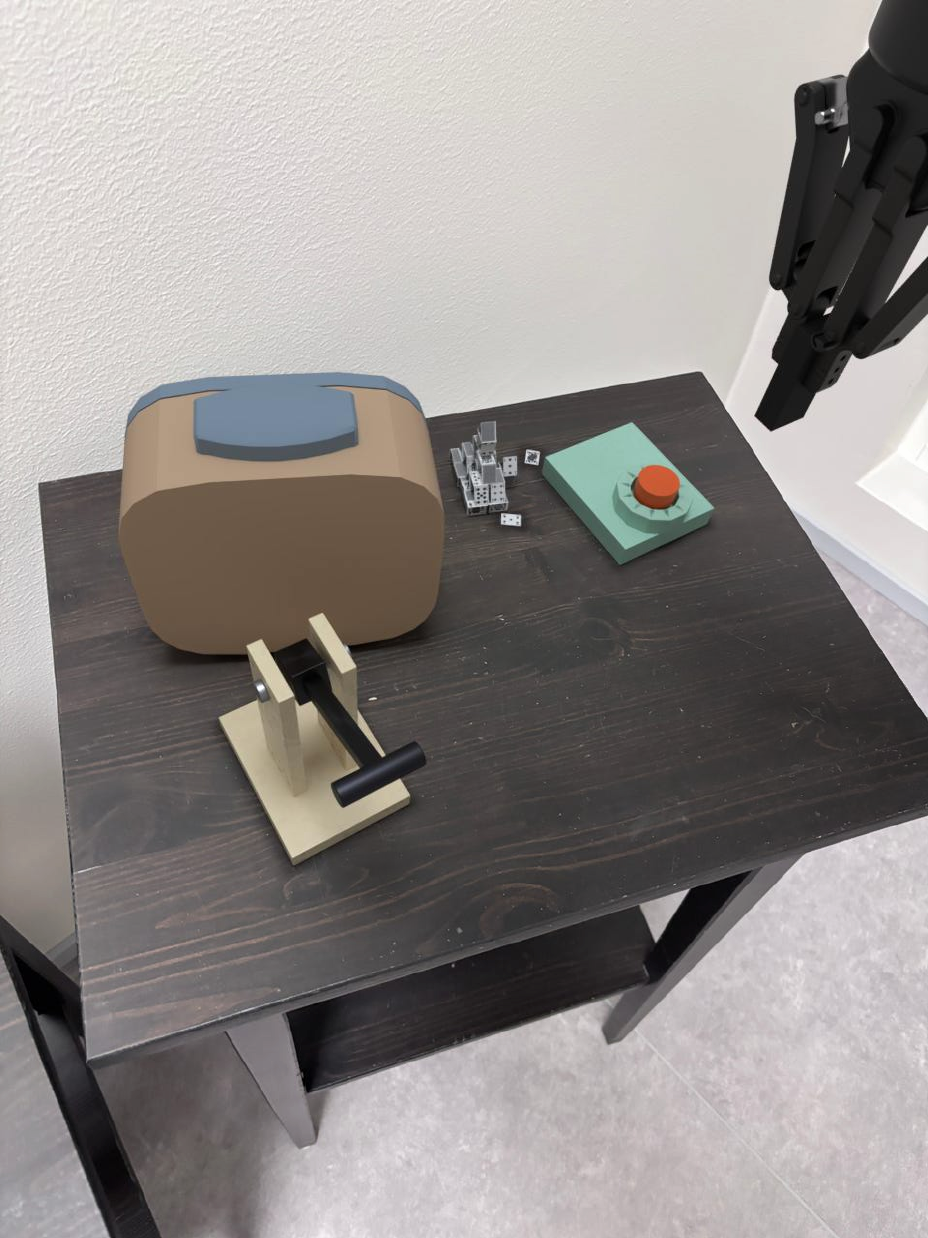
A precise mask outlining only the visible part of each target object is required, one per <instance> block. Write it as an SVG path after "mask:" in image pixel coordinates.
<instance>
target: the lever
mask: <svg viewBox="0 0 928 1238" xmlns="http://www.w3.org/2000/svg"><path fill="white" fill-rule="evenodd" d="M273 655H274V659H275V663H276V665H277V666H278V668H279V670H280V672H281V673H282V675H283V677H284V678H285V680H286V682H287V684H288V685H289V687H290V689H291V691H292V692H293V694H294V697H295V700H296V702H297V703H298V704H299V706H302V705H304V704H306V703H308V702H312V703H313V705H314V706H315V707H316V709H317V710H318V711H319V713H320V714H321V716H322V717H323V718H324V720H325V721H326V722H327V724H328V725H329V727H330V728H331V729H332V731H333V732H334V733H335V735H336V736H337V738H338V739H339V740H340V742H341V743H342V744H343V746H344V747H345V749H346V750H347V751H348V753H349V754H350V756H351V757H352V758H353V760H354V761H355V762H356V764H357V765H358V767H359V769H358V770H356V771H354V772H352V773H350V774H348V775H346V776H344V777H342V778H340V779H338V780H336V781H334V782H332V783H331V789H332V792H333V794H334V796H335V798H336V800H337V802H338V803H339V805H340V806H341V807H342V808H344V807H346V806H348V805H350V804H352V803H354V802H356V801H358V800H360V799H362V798H364V797H366V796H367V795H369V794H371V793H373V792H375V791H377V790H379V789H381V788H383V787H385V786H387V785H389V784H391V783H392V782H394V781H396V780H398V779H402V778H404V777H406V776H408V775H410V774H412V773H414V772H415V771H417V770H419V769H420V768H421V769H422V768H423V767H425V766H426V765H427V756H426V755H425V753H424V750H423V749H422V747H421V745H420V744H419V743H418V742H417V741H416V740H413V741H411V742H409V743H407V744H405V745H402V746H401V747H399V748H397V749H395V750H393V751H391V752H389V753H387V754H385V756H383V757H382V756H381V755H380V754H379V752H378V751H377V750H376V748H375V747H374V746H373V744H372V743H371V742H370V741H369V739H368V738H367V737H366V735H365V734H364V733H363V731H362V730H361V729H360V727H359V726H358V725H357V724H356V722H355V721H354V720H353V718H352V717H351V716H350V714H349V713H348V712H347V710H346V709H345V708H344V707H343V705H342V704H341V703H340V701H339V700H338V699H337V697H336V696H335V695H334V693H333V692H332V691H333V690H332V686H331V682H330V678H329V674H328V671H327V667H326V663H325V661H324V660H323V658H322V657H321V656H320V655H319V653H318V652H317V651H316V650H315V648H314V647H313V646H312V645H311V643H310V642H309V641H308V639H307V638H305V639H303V640H301V641H298V642H296V643H294V644H292V645H289V646H287V647H285V648H283V649H280V650H278V651H276V652H273Z"/></svg>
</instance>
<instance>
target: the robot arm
mask: <svg viewBox="0 0 928 1238" xmlns="http://www.w3.org/2000/svg"><path fill="white" fill-rule="evenodd" d="M867 43H868V48H867V49H866V51H865V52H864V54H863V55H862V56H860V57H859V58H858V59H857V60H856V61H855V63H854V64H853V65H852V66H851V69H850V70H849V73H848V74H847V75H844V74H835V75H832V76H828V77H824V78H820V79H816V80H811V81H809V82H804V83H801V84H800V85H798V86H797V88H796V90H795V92H794V95H793V106H794V125H795V141H794V145H793V146H794V147H793V151H792V152H793V153H792V157H791V162H790V167H789V172H788V177H787V181H786V182H787V183H786V187H785V191H784V196H783V197H784V198H783V203H782V207H781V213H780V217H779V223H778V227H777V233H776V238H775V243H774V247H773V248H774V249H773V254H772V259H771V263H770V269H769V274H768V283H769V285H770V287H771V288H772V289H773V290H774V291H777V292H779V291H781V292H782V294H783V295H784V296H785V299H786V300H787V303H786V310H787V315H786V317H785V319H784V322H783V325H782V326H781V328H780V331H779V333H778V335H777V337H776V341H775V342H774V344H773V346H772V348H771V357H770V358H771V360H773V361H774V362H775V363H776V364H777V365H776V367H775V370H774V372H773V375H772V376H771V379H770V381H769V383H768V385H767V387H766V390H765V391H764V394H763V396H762V398H761V400H760V402H759V404H758V407H757V409H756V411H755V413H754V415H753V417H754V418H756V419H757V421H758V422H760V423H761V425H763V426H764V427H765V428H766V429H767V430H768V431H769V432H770V433H772V432H774V431H776V430H778V429H780V428H784V427H786V426H787V425H790V424H792V423H795V422H797V421H799V420H802V419H804V418H805V416H806V413H807V412H808V411H809V408H810V406H811V405H812V403H813V400H814V398H815V397H816V395H817V394H818V393H820V392H823V391H826V390H827V389H830V388H832V387H834V385H836V384H837V383H838V381H839V380H840V378H841V376H842V375H843V372H844V370H845V368H846V367H847V365H848V363H849V361H850V359H851V357H852V356H853V357H854V358H856V359H858V360H864V359H865V360H866V359H867V358H870V357H872V356H874V355H876V354H879V353H881V352H883V351H886V350H888V349H891V348H894V347H895V346H898V345H899V344H901V342H902V341H903V340H904V339H905V338H906V337H907V336H908V335H909V334H910V333H911V332H912V331H913V330H914V329H915V328H916V327H917V326H918V325H920V323H921V322H922V321H923V320H924V319H925V318H926V316H928V255H927V257H926V258H924V260H923V261H921V263H920V264H919V265H918V266H917V267H916V268H915V270H914V271H913V272H912V273H911V274H910V275H909V276H908V277H907V278H906V279H905V281H903V282H902V284H901V285H900V286H899V287H898V288H897V289H896V290H895V292H894V293H893V294H892V295H891V293H892V291H893V290H894V287H895V286H896V284H897V282H898V281H899V278H900V277H901V275H902V273H903V271H904V270H905V268H906V266H907V264H908V262H909V261H910V259H911V257H912V255H913V253H914V251H915V249H916V248H917V246H918V244H919V242H920V240H921V238H922V237H923V234H924V233H925V231H926V229H927V227H928V0H881V1H880V4H879V7H878V10H877V11H876V14H875V16H874V19H873V21H872V24H871V26H870V29H869V31H868V38H867ZM848 146H849V151H848V153H847V155H846V152H847V147H848ZM845 156H846V157H845ZM890 295H891V296H890ZM831 308H832V309H831ZM827 309H831V311H830V312H828V313H826V311H827Z"/></svg>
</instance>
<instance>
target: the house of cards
mask: <svg viewBox="0 0 928 1238" xmlns="http://www.w3.org/2000/svg"><path fill="white" fill-rule="evenodd" d="M476 430H477V434H475V435H472V436H471V438H470V440H469V441H467V442H461V444H460V445H459V447H457V448H450V450H449V452H448V461H451V462H452V465H453V469H454V473H455V475H456V480H457V482H456V487H457V488H460V491H461V494H462V498H463V502H464V507H465V510H466V512H465V516H466V517H467V516H468V517H469V516H476V515H477V516H478V515H487V514H488V516H489V514H490V513H497V512H498V513H499V512H503V513H501V514H500V525H505V526H514V527H521V526H522V514H515V513H514V514H512V513H504V512H507V511H508V508H509V503H510V500H508V497H507V495H506V488H513V487H514V485H515V481H516V476H518V455H512V456H503V457H502V458H501V459H500V460H499V461H498V462H497V451H496V445H497V442H498V441H497V422H496V420H493V421H482V422H480V424H479V425H478V426H477V428H476ZM540 454H541V452H540V451H538V450H533V449H526V451H525V458H524V464H527V465H528V464H529V465H533V466H539V462H540Z"/></svg>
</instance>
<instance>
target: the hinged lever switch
mask: <svg viewBox="0 0 928 1238" xmlns="http://www.w3.org/2000/svg"><path fill="white" fill-rule="evenodd" d="M308 621H309V632H310V642H311V645H312V646H313V647H314V648H315V650H316V651H317V652H318V653H319V655H320V656H321V657H322V658H323V660H324V661H325V663H326V667H327V671H328V674H329V678H330V682H331V686H332V690H333V691H332V692H333V693H334V695H335V696H336V697H337V699H338V700H339V701H340V703H341V704H342V705H343V707H344V708H345V709H346V710H347V712H348V713H349V714H350V716H351V717H352V718H353V720H354V721H355V722H356V724H357V725H358V726H359V727H360V729H361V730H362V731H363V733H364V734H365V735H366V737H367V738H368V739H369V741H370V742H371V743H372V744H373V746H374V747H375V748H376V750H377V751H378V752H379V754H380V755H381V756H382V757H383V756H385V755H386V753H385V751H384V750H383V748H382V747H381V745H380V744H379V742H378V740H377V739H376V737H375V735H374V734H373V732H372V730H371V729H370V727H369V725H368V724H367V722H366V721H365V718H364V717H363V716H362V714H361V712H360V711H359V708H358V669H357V667H358V666H357V665H356V663H355V662H354V660H353V659H354V658H353V655H352V652H351V650H350V648H349V645H346V643H345V642H341V641H340V639H339V638H338V636H337V635H336V633H335V631H334V630H333V628H332V627H331V625H330V623H329V622H328V620H327V619H326V617H325V615H324V614H323V613H321V614H319V615H316V616H314V617H312V618H309V619H308ZM246 647H247V652H248V654H247V658H248V661H249V666H250V671H251V676H252V680H253V681H252V683H251V685H252V688H253V690H254V693H255V695H256V700H254V701H252V702H249V703H247V704H245V705H243V706H240V707H238V708H236V709H234V710H231V711H230V712H228V713H225V714H223V715H221V716H219V717H218V721H219V724H220V727H221V730H222V731H223V733H224V735H225V737H226V739H227V741H228V743H229V745H230V747H231V749H232V750H233V753H234V754H235V756H236V758H237V760H238V762H239V764H240V766H241V768H242V770H243V772H244V774H245V776H246V778H247V780H248V782H249V784H250V785H251V787H252V789H253V791H254V794H255V795H256V798H257V799H258V801H259V802H260V804H261V806H262V808H263V811H264V812H265V814H266V816H267V818H268V820H269V822H270V824H271V826H272V828H273V829H274V831H275V834H276V835H277V837H278V839H279V841H280V843H281V845H282V847H283V849H284V851H285V852H286V854H287V857H288V858H289V860H290V862H291V864H292V866H293V867H294V866H296V865H298V864H300V863H302V862H303V861H305V860H307V859H309V858H312V857H313V856H315V855H316V854H318V853H320V852H322V851H324V850H326V849H328V848H330V847H331V846H334V845H335V844H337V843H339V842H341V841H343V840H344V839H347V838H348V837H350V836H352V835H354V834H356V833H358V832H359V831H361V830H364V829H365V828H367V827H369V826H371V825H373V824H375V823H376V822H378V821H380V820H382V819H384V818H386V817H388V816H389V815H391V814H393V813H395V812H397V811H399V810H401V809H402V808H404V807H406V806H408V805H409V804H410V801H411V794H410V793H409V791H408V789H407V788H406V786H405V784H404V783H403V781H402V778H400V779H398V780H396V781H394V782H392V783H391V784H389V785H387V786H385V787H383V788H381V789H379V790H377V791H375V792H373V793H371V794H369V795H367V796H366V797H364V798H362V799H360V800H358V801H356V802H354V803H352V804H350V805H348V806H346V807H344V808H342V807H341V806H340V805H339V803H338V802H337V800H336V798H335V796H334V794H333V792H332V789H331V783H332V782H334V781H336V780H338V779H340V778H342V777H344V776H346V775H348V774H350V773H352V772H354V771H356V770H358V769H359V767H358V765H357V764H356V762H355V761H354V760H353V758H352V757H351V756H350V754H349V753H348V751H347V750H346V749H345V747H344V746H343V744H342V743H341V742H340V740H339V739H338V738H337V736H336V735H335V733H334V732H333V731H332V729H331V728H330V727H329V725H328V724H327V722H326V721H325V720H324V718H323V717H322V716H321V714H320V713H319V711H318V710H317V709H316V707H315V706H314V705H313V703H312V702H308V703H306V704H304V705H302V706H299V704H298V703H297V702H296V700H295V697H294V694H293V692H292V691H291V689H290V687H289V685H288V684H287V682H286V680H285V678H284V677H283V675H282V673H281V672H280V670H279V668H278V666H277V663H276V660H274V659H275V658H273V656H272V654H271V652H269V651H268V649H267V647H266V646H265V644H264V642H263V640H262V639H261V640H258V641H256V642H254V643H251V644H249V645H247V646H246Z"/></svg>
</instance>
